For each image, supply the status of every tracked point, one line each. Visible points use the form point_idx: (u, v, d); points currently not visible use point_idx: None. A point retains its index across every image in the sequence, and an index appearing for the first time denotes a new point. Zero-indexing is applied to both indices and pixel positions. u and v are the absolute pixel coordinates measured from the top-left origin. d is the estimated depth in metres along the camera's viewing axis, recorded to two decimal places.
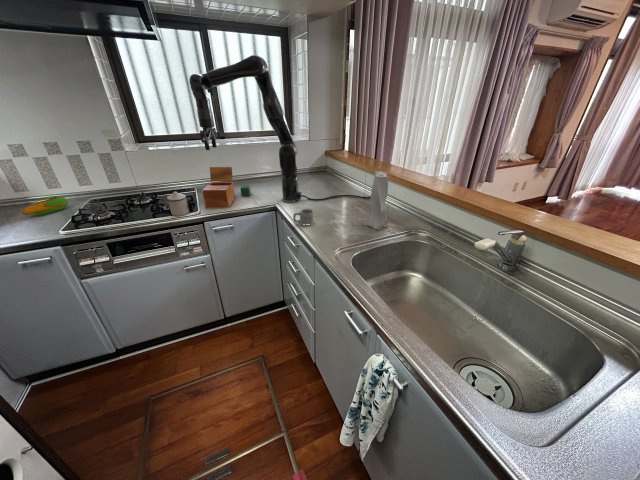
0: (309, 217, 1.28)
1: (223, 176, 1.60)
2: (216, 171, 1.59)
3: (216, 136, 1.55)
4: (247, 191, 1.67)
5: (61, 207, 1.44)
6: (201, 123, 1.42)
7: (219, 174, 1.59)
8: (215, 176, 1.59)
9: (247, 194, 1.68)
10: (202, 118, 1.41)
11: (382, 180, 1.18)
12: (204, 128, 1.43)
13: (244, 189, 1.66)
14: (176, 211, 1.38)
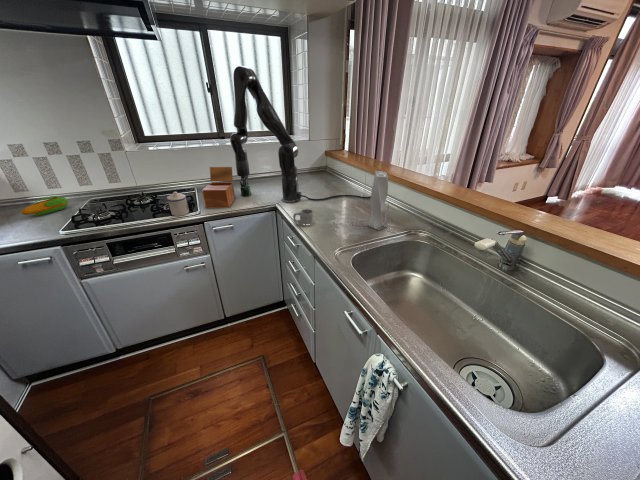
0: (309, 217, 1.28)
1: (223, 176, 1.60)
2: (216, 171, 1.59)
3: None
4: (247, 191, 1.67)
5: (61, 207, 1.44)
6: (240, 173, 1.60)
7: (219, 174, 1.59)
8: (215, 176, 1.59)
9: (247, 194, 1.68)
10: (241, 169, 1.58)
11: (382, 180, 1.18)
12: (242, 177, 1.61)
13: None
14: (176, 211, 1.38)
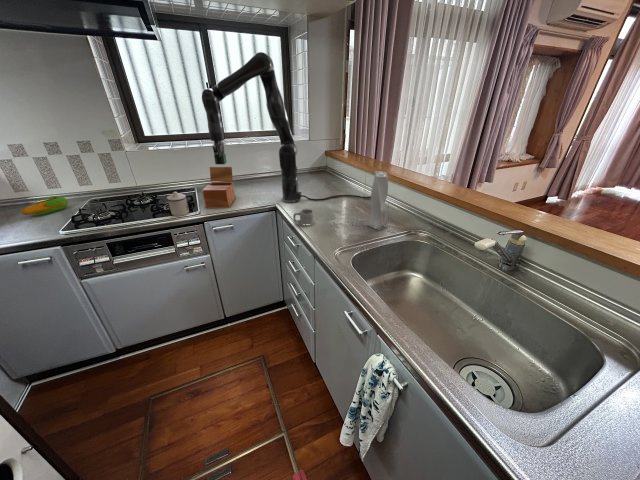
0: (309, 217, 1.28)
1: (223, 176, 1.60)
2: (216, 171, 1.59)
3: (223, 150, 1.54)
4: (222, 159, 1.49)
5: (61, 207, 1.44)
6: (212, 137, 1.42)
7: (219, 174, 1.59)
8: (215, 176, 1.59)
9: (222, 162, 1.50)
10: (214, 132, 1.41)
11: (382, 180, 1.18)
12: (216, 142, 1.44)
13: None
14: (176, 211, 1.38)
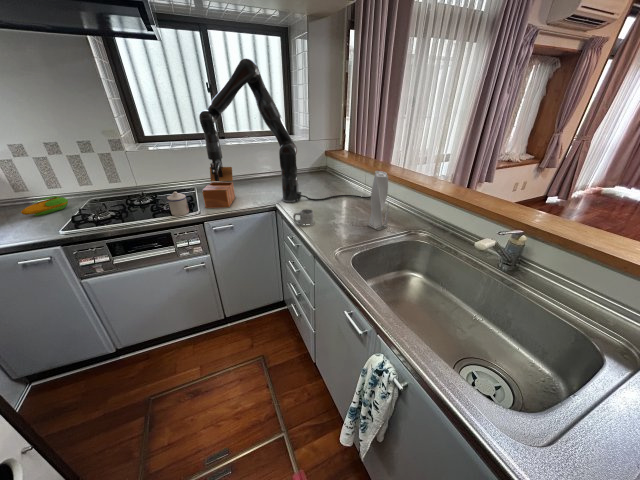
0: (309, 217, 1.28)
1: (223, 176, 1.60)
2: None
3: (222, 166, 1.58)
4: None
5: (61, 207, 1.44)
6: (210, 156, 1.45)
7: None
8: None
9: None
10: (212, 151, 1.44)
11: (382, 180, 1.18)
12: (214, 160, 1.46)
13: None
14: (176, 211, 1.38)
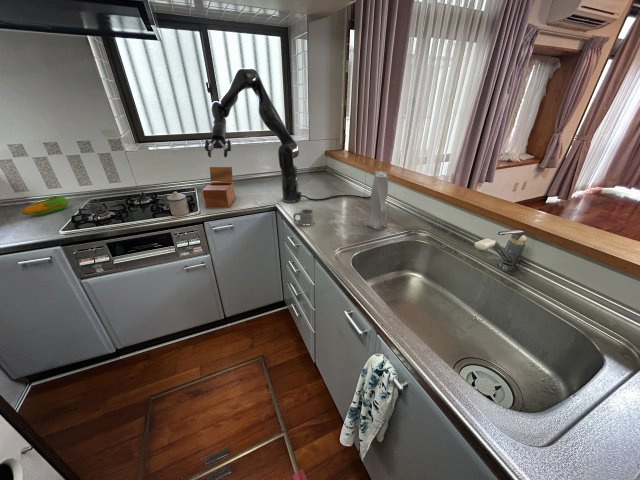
0: (309, 217, 1.28)
1: (223, 176, 1.60)
2: (216, 171, 1.59)
3: (228, 146, 1.54)
4: None
5: (61, 207, 1.44)
6: None
7: (219, 174, 1.59)
8: (215, 176, 1.59)
9: None
10: None
11: (382, 180, 1.18)
12: None
13: None
14: (176, 211, 1.38)
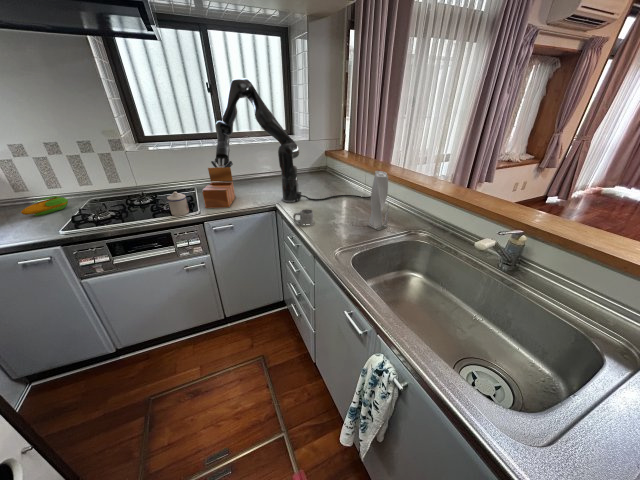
0: (309, 217, 1.28)
1: (222, 176, 1.59)
2: (214, 171, 1.57)
3: (226, 166, 1.60)
4: None
5: (61, 207, 1.44)
6: None
7: (219, 174, 1.58)
8: (214, 176, 1.58)
9: None
10: None
11: (382, 180, 1.18)
12: None
13: None
14: (176, 211, 1.38)
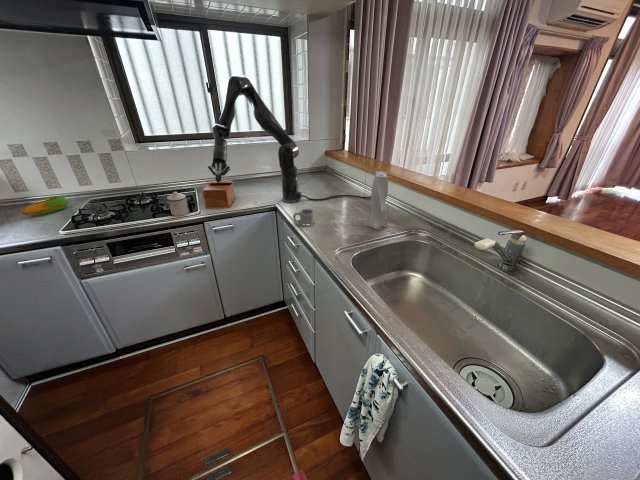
0: (309, 217, 1.28)
1: (222, 182, 1.58)
2: None
3: (223, 171, 1.54)
4: None
5: (61, 207, 1.44)
6: None
7: None
8: (214, 182, 1.57)
9: None
10: None
11: (382, 180, 1.18)
12: None
13: None
14: (176, 211, 1.38)
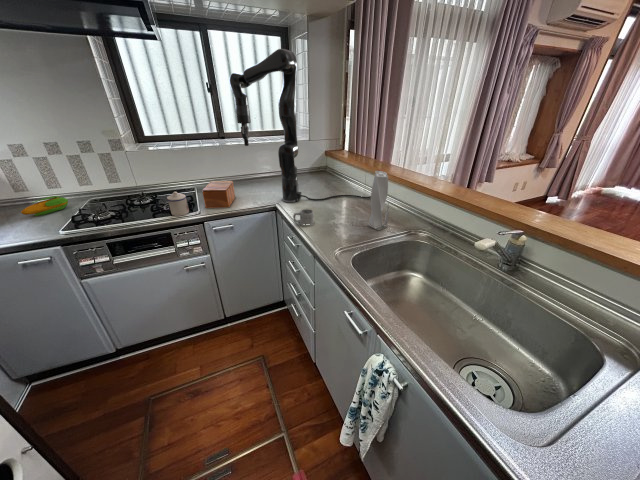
0: (309, 217, 1.28)
1: None
2: None
3: (248, 135, 1.61)
4: None
5: (61, 207, 1.44)
6: (240, 119, 1.51)
7: None
8: None
9: None
10: (242, 114, 1.49)
11: (382, 180, 1.18)
12: (243, 124, 1.52)
13: None
14: (176, 211, 1.38)
